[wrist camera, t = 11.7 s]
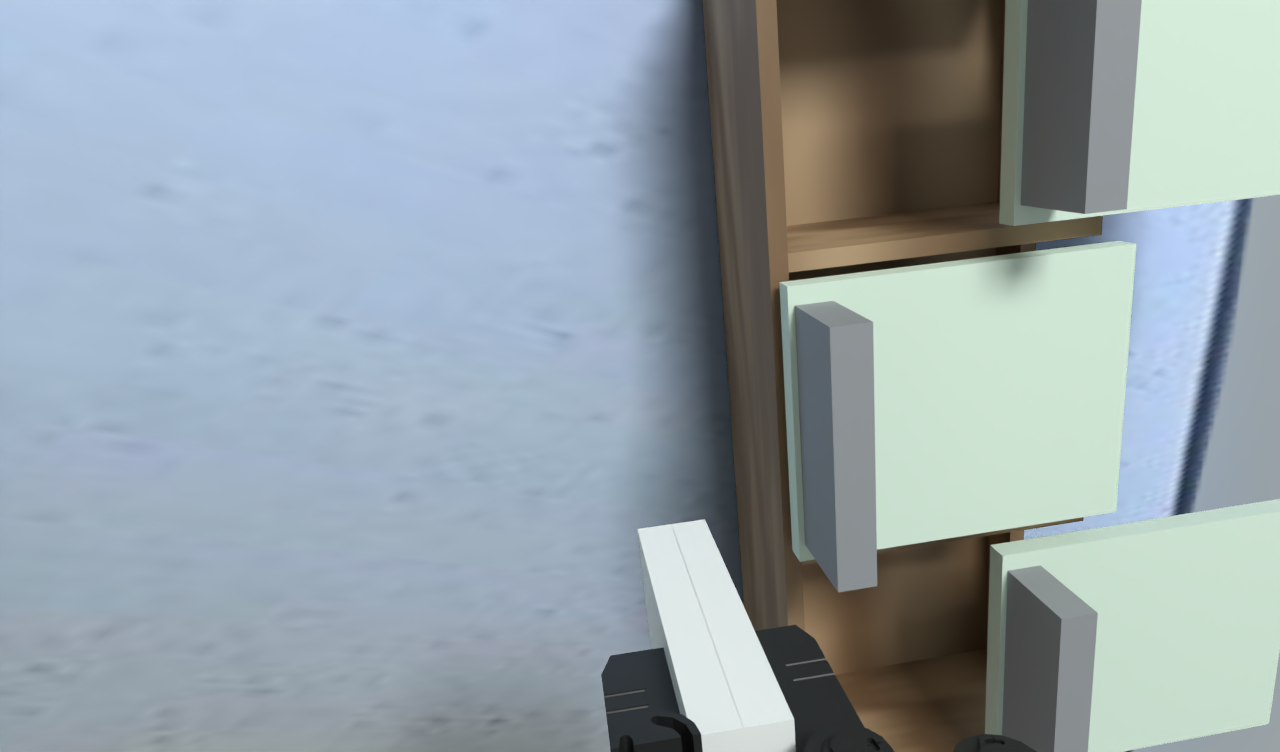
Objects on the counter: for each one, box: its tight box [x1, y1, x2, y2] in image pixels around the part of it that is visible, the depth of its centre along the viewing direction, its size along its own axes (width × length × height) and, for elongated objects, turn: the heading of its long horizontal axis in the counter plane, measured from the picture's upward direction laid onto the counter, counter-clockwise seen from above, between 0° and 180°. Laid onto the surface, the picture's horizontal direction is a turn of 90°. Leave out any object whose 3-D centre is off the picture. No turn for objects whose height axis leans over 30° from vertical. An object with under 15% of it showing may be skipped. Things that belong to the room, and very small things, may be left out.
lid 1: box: [779, 241, 1136, 592], centre depth 25 cm, size 11×9×4 cm
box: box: [702, 0, 1103, 752], centre depth 31 cm, size 12×31×7 cm, turn 6°
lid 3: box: [985, 499, 1280, 752], centre depth 29 cm, size 11×9×4 cm
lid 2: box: [999, 0, 1280, 226], centre depth 23 cm, size 11×9×4 cm
